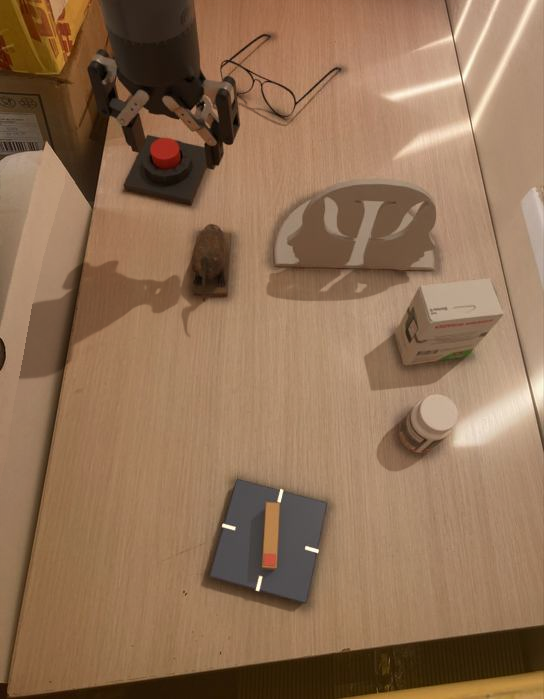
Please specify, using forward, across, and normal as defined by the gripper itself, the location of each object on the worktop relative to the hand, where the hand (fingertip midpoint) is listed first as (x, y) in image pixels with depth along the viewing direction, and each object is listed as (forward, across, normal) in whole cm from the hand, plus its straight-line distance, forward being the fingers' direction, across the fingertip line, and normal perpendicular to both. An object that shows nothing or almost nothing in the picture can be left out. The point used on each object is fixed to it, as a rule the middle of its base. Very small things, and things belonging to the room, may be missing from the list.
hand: (175, 155), depth 59 cm
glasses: (+17, -3, -35) cm, 39 cm away
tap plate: (+16, -20, +34) cm, 43 cm away
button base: (+16, +7, -11) cm, 21 cm away
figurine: (+17, -4, +4) cm, 18 cm away
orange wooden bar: (+13, -20, +34) cm, 42 cm away
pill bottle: (+17, -34, +18) cm, 42 cm away
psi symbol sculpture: (+17, -21, -9) cm, 28 cm away
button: (+14, +7, -11) cm, 19 cm away
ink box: (+17, -34, +6) cm, 38 cm away
